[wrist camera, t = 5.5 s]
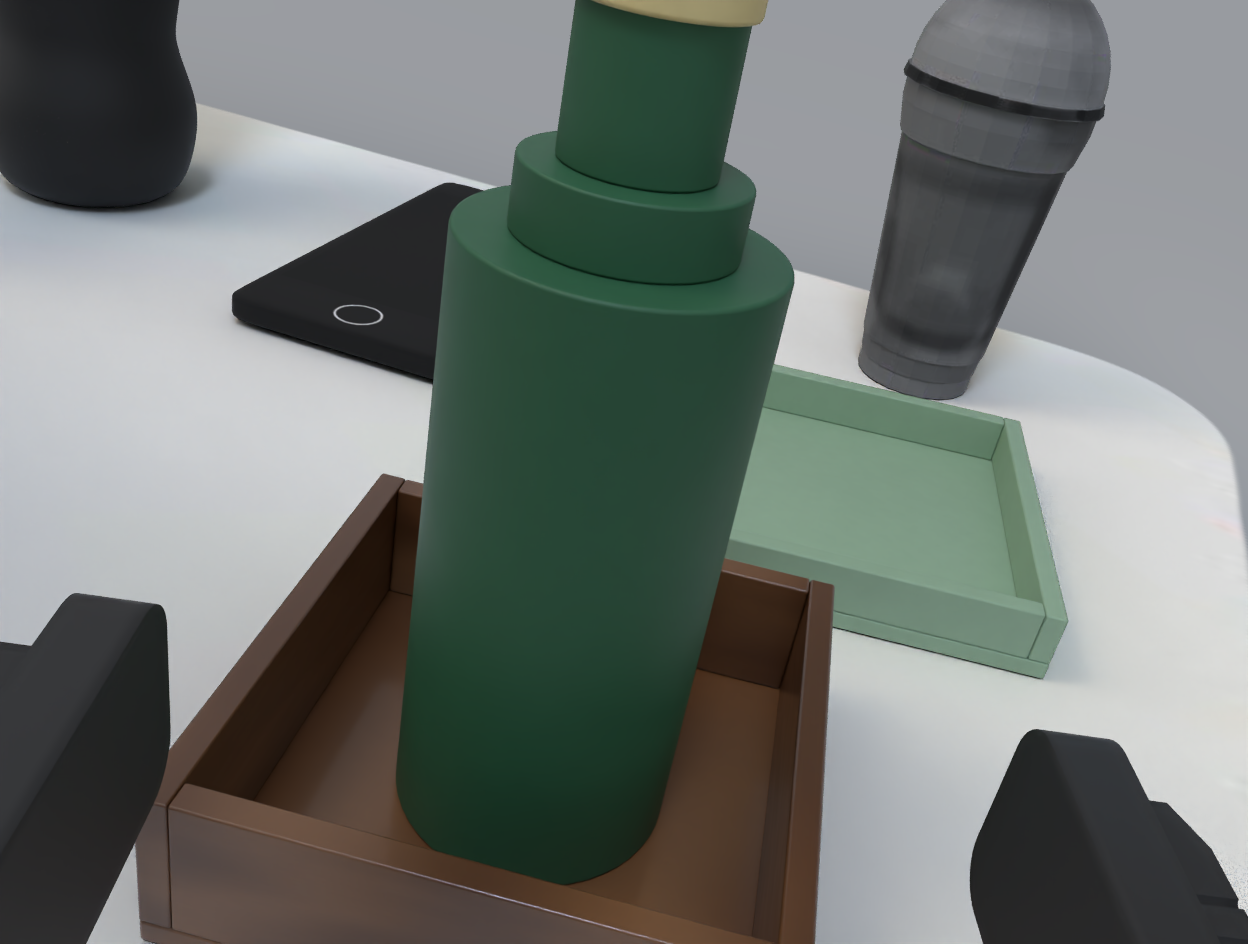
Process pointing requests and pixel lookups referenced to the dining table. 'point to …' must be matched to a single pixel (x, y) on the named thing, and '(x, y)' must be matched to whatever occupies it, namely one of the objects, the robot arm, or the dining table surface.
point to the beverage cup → (976, 178)
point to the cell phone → (366, 286)
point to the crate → (453, 886)
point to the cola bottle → (94, 100)
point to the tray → (903, 519)
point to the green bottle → (587, 449)
